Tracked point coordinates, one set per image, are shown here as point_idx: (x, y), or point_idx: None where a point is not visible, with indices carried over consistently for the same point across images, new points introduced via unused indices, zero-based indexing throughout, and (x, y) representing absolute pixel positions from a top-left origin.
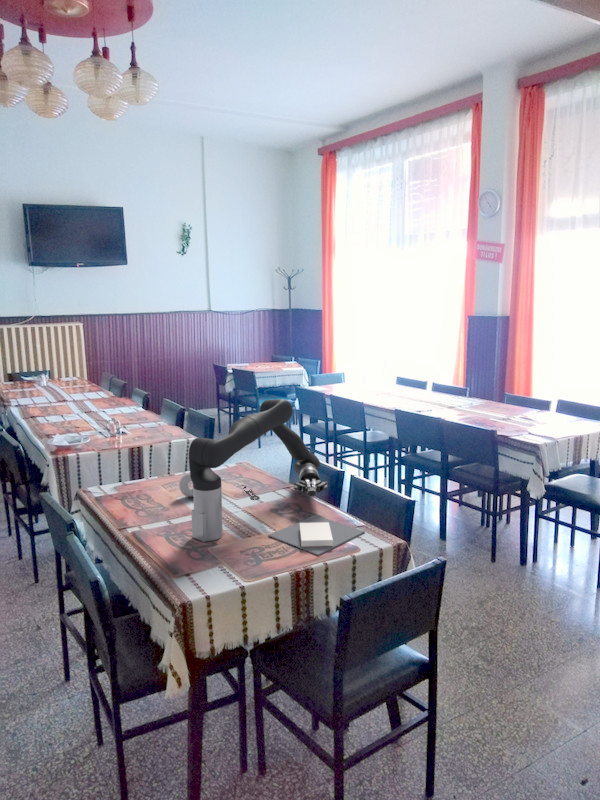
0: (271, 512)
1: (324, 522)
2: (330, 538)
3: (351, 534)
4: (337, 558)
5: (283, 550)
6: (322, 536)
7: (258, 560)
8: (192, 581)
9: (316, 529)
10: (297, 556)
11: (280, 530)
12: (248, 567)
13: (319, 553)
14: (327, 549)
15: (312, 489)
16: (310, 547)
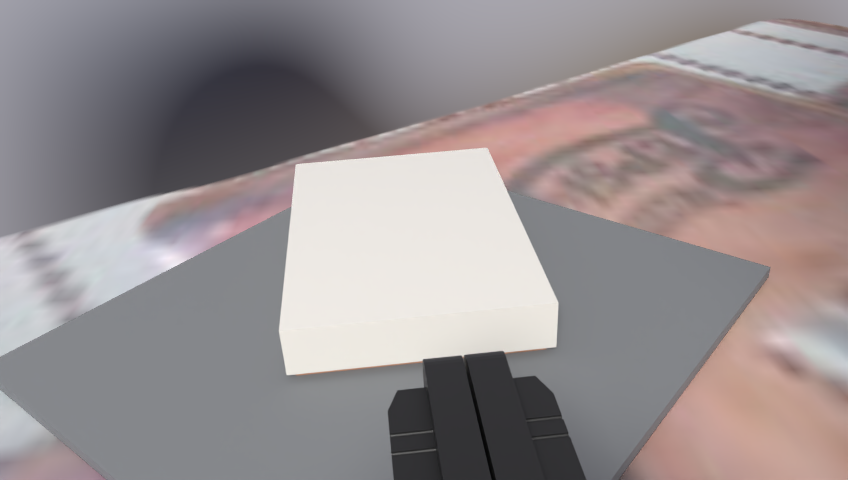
0: None
1: (320, 326)
2: (308, 172)
3: (123, 318)
4: (295, 159)
5: (585, 180)
6: (357, 182)
7: (673, 126)
8: (835, 51)
9: (397, 236)
10: (495, 155)
11: (713, 324)
12: (688, 99)
13: None
14: None
15: (459, 389)
16: None
